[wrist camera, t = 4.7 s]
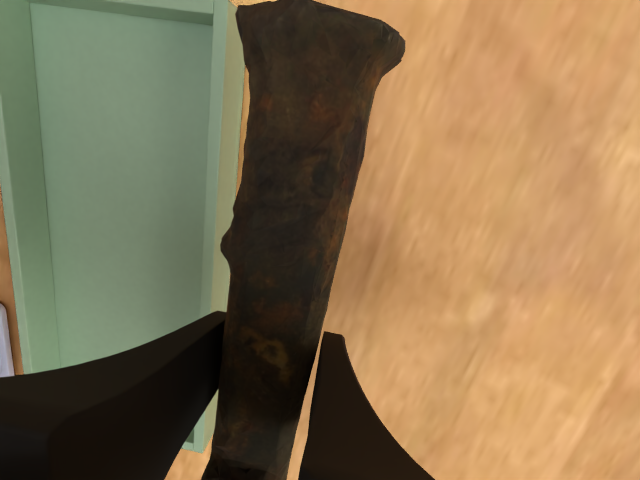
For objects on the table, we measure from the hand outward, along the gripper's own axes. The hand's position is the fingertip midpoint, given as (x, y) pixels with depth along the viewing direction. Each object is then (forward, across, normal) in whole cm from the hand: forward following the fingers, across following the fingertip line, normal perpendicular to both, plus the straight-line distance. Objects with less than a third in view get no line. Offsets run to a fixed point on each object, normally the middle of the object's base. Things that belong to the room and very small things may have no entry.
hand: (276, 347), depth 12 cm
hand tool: (+2, 0, 0) cm, 2 cm away
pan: (+8, +10, 0) cm, 13 cm away
